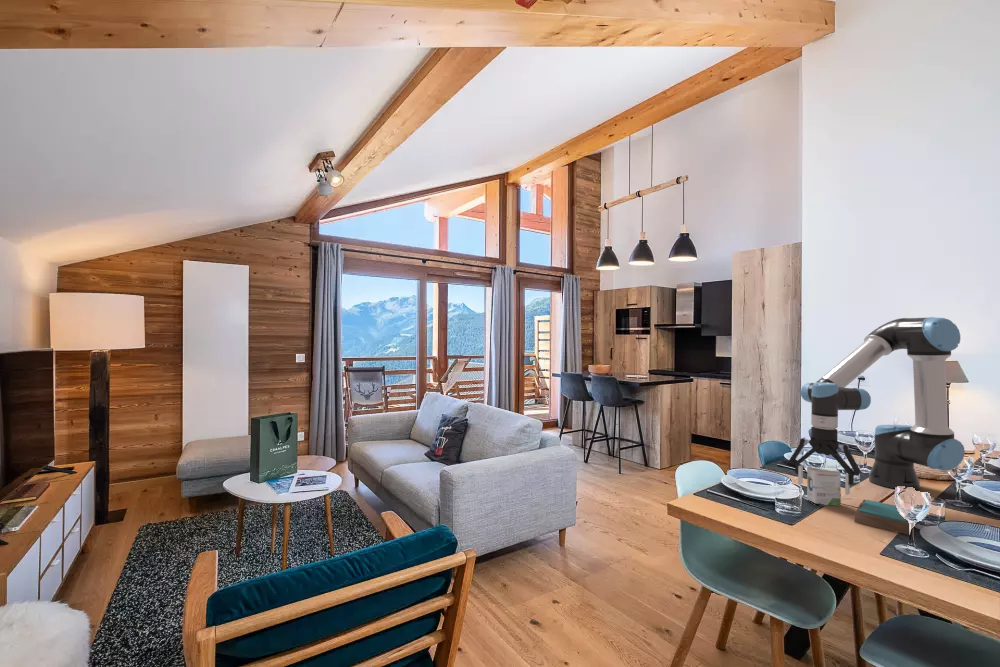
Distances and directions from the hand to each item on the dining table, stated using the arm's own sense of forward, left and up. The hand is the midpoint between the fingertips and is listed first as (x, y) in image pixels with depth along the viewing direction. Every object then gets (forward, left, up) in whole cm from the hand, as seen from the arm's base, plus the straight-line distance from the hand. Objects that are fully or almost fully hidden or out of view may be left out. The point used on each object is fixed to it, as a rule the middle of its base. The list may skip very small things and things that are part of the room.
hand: (823, 488), depth 160 cm
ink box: (0, 0, -5) cm, 5 cm away
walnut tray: (+4, +17, -5) cm, 18 cm away
